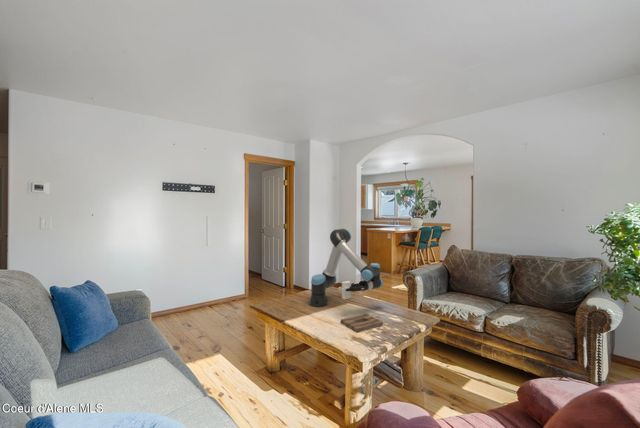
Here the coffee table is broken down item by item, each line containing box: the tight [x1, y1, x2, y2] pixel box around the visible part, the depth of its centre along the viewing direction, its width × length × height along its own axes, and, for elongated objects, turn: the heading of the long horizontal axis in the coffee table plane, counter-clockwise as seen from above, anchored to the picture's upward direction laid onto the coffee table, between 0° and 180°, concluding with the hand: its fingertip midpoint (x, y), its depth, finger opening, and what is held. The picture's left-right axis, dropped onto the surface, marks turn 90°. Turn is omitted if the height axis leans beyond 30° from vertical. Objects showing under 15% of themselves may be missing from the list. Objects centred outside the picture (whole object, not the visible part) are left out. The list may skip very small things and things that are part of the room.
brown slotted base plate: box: [340, 312, 383, 333], centre depth 197 cm, size 18×22×2 cm
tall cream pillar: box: [341, 280, 352, 300], centre depth 211 cm, size 3×6×12 cm, turn 121°
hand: (340, 289), depth 208 cm, fingers closed on tall cream pillar, 3 cm apart
